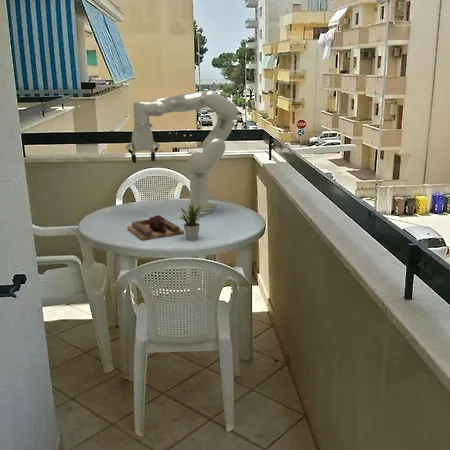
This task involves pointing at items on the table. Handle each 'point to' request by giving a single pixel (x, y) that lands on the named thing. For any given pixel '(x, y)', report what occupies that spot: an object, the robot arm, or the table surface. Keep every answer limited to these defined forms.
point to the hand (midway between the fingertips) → (143, 161)
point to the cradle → (147, 233)
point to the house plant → (191, 222)
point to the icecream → (157, 223)
